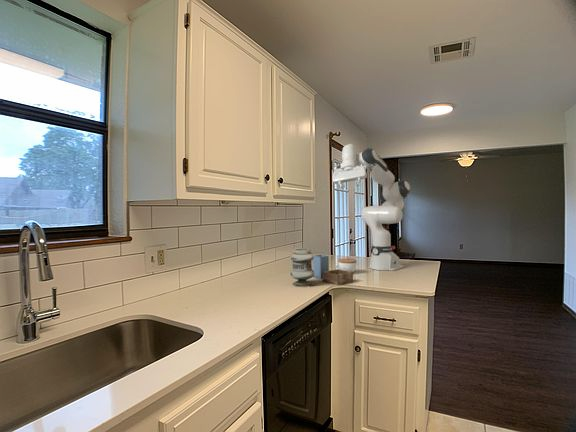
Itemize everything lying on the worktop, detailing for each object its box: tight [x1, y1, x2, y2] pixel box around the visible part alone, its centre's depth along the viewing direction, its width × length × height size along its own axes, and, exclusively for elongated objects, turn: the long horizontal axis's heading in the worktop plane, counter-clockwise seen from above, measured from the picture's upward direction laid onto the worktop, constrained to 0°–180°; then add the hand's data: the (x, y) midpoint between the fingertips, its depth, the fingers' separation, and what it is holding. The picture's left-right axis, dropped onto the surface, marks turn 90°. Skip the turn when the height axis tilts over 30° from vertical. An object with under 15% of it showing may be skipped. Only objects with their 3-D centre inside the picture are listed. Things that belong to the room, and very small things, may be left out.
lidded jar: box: [337, 256, 358, 273], centre depth 192 cm, size 11×11×9 cm
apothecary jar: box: [289, 247, 315, 288], centre depth 166 cm, size 12×12×18 cm
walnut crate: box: [322, 268, 354, 286], centre depth 171 cm, size 11×11×5 cm
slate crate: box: [312, 254, 330, 280], centre depth 181 cm, size 6×6×12 cm
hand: (349, 186), depth 192 cm, fingers open, 8 cm apart
